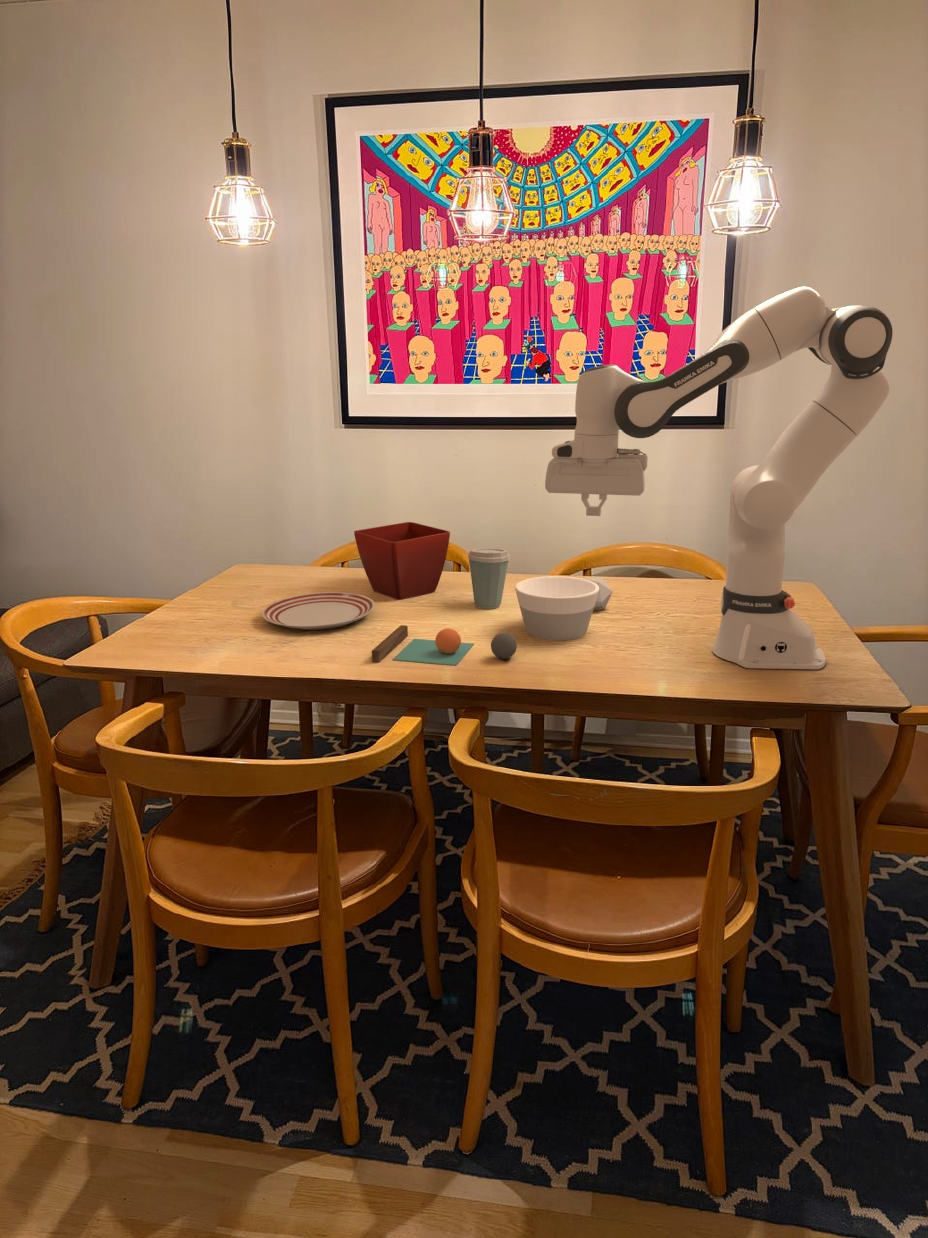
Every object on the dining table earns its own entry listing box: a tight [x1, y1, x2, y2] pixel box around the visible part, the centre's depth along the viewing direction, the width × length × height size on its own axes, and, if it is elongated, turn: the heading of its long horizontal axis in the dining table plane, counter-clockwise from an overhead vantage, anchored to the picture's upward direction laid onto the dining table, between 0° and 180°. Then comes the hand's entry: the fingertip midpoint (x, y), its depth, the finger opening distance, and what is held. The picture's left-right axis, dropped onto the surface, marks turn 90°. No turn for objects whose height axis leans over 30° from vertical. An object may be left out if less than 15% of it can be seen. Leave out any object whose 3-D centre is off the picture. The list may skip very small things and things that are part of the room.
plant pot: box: [353, 521, 451, 600], centre depth 227 cm, size 19×19×17 cm
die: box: [583, 576, 614, 611], centre depth 211 cm, size 8×9×10 cm
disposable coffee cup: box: [467, 547, 511, 610], centre depth 213 cm, size 11×11×15 cm
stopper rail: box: [371, 624, 409, 663], centre depth 184 cm, size 2×18×2 cm, turn 165°
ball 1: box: [435, 627, 462, 654], centre depth 180 cm, size 6×6×6 cm
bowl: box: [514, 575, 599, 641], centre depth 194 cm, size 19×19×11 cm
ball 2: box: [490, 632, 518, 660], centre depth 177 cm, size 6×6×6 cm
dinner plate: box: [261, 591, 376, 631], centre depth 206 cm, size 27×27×3 cm
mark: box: [392, 638, 474, 667], centre depth 182 cm, size 14×14×1 cm
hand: (593, 515), depth 175 cm, fingers closed
